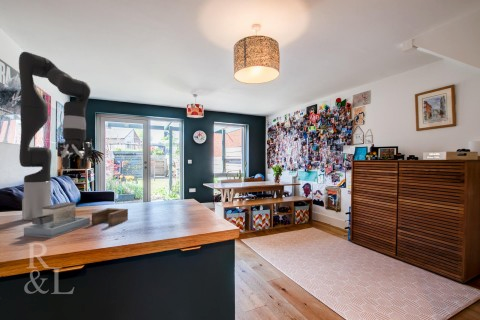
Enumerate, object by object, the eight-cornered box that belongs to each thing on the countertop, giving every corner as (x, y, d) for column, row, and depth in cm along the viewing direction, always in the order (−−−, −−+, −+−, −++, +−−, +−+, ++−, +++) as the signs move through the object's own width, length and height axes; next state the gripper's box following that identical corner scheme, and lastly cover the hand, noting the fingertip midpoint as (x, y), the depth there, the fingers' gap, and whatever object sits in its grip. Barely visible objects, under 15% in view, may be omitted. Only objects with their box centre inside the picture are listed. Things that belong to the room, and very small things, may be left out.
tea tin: (30, 233, 79) (30, 209, 79) (65, 222, 92) (65, 202, 92) (42, 234, 78) (42, 210, 78) (75, 223, 91) (75, 202, 91)
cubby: (91, 224, 93) (91, 212, 93) (108, 218, 103) (108, 207, 103) (112, 226, 92) (112, 214, 92) (127, 219, 101) (127, 209, 101)
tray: (23, 235, 80) (23, 227, 80) (65, 222, 95) (65, 215, 95) (51, 237, 78) (51, 229, 78) (89, 224, 93) (89, 217, 93)
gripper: (50, 127, 87) (50, 167, 87) (81, 126, 84) (81, 168, 85) (68, 129, 94) (68, 167, 95) (97, 129, 92) (97, 167, 92)
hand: (74, 167), depth 90 cm, fingers open, 8 cm apart
